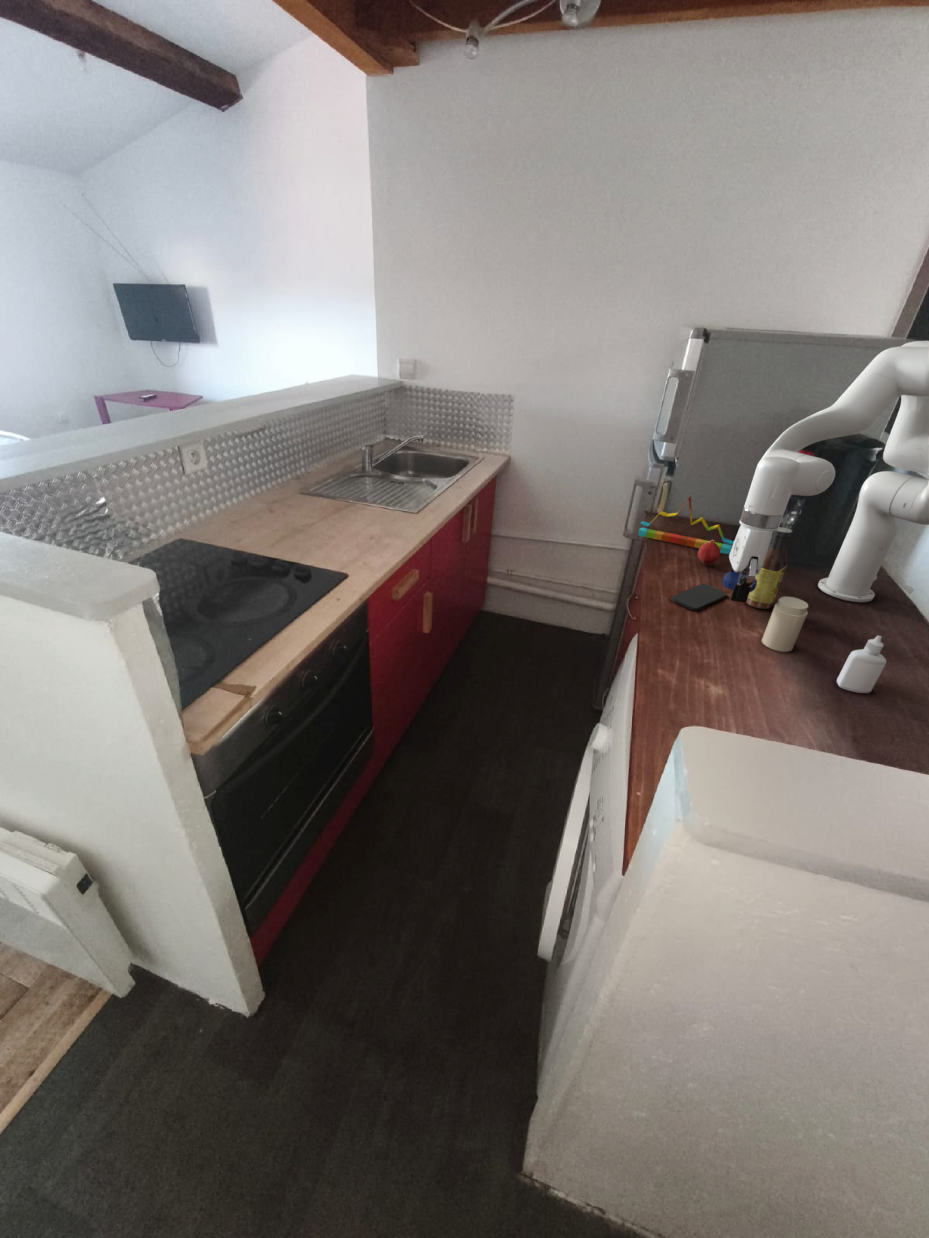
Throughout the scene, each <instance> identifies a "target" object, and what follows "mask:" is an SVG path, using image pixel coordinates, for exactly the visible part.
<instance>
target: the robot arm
mask: <svg viewBox="0 0 929 1238" xmlns="http://www.w3.org/2000/svg"><path fill="white" fill-rule="evenodd" d="M899 397H900V399H901V400H900V406H899V409H898V412H897V415H896V417H895V421H894V423H893V425H892V428H891V430H890V434H889V435H888V439H887V441H886V443H885V446H884V450H883V454H882V460H883V461H884V463H885V464H886V465H889V466H891V467H895V468H896V469H897V468H898V469H902V470H905V471H910V472H915V473H918V474H923V475H927V476H928V477H929V340H916V341H910V342H906V343H904V344H902V345H901V346H893V347H889V348H886V349H884V350H882V351H881V352H880V353H878V354H877V355H876V356H875V357H874V358H873V359H872V360H871V361H870V362H869V363H868V365H866V367H864V369H863V370H862V371H861V373H860V374H858V376H857V377H856V378H855V379H854V380H853V382H852V383H851V384H850V385H849V386H848V387H847V389H846V390H845V391H844V392H843V393H842V394H841V395H840V396H839V397H838V399H837V400H836V401H835V402H834V403H833V404H832V405H831V406H829V407H827V408H824V409H822V410H820V411H817V412H815V413H813V414H811V415H809V416H806V418H805V417H804V418H803V419H801V420H799V421H797V422H796V423H794V424H792V425H791V426H789V427H788V428H787V429H785V430H784V431H782V433H781V434H780V435H779V436H778V437H777V438H776V439H775V441H774V442H773V443H772V444H771V445H770V446H769V448H768V449H767V450H766V451H765V453H764V454H763V456H761V458H760V460H759V461H758V462H757V465H756V468H755V470H754V474H753V476H752V479H751V480H752V481H751V484H750V487H749V490H748V493H747V495H746V500H745V503H744V505H743V508H742V512H741V515H740V518H739V521H738V523H739V524H740V525H739V528H738V531H737V533H736V535H735V538H734V540H733V541H734V543H733V545H732V549H731V552H730V554H728V558H729V562H730V565H731V567H730V568H731V569H729V572H739V577H738V582H737V584H736V583H735V586H734V589H733V590H732V592H731V595H730V601H732V602H737V603H746V601H747V599H748V596H749V593H750V590H751V587H752V585H753V581H754V580H755V578H756V575H757V574H759V572H760V570H761V568H762V566H763V563H764V560H765V557H766V554H767V551H768V547H769V544H770V541H771V537H772V533H773V531H776V530H778V529H779V527H781V523H782V520H783V518H784V514H785V512H786V509H787V506H788V503H789V500H790V498H791V496H803V497H812V496H817V495H819V494H821V493H823V492H825V491H827V489H829V488H830V486H831V485H832V484H833V482H834V480H835V477H836V469H835V467H834V465H833V463H832V462H830V461H828V460H827V459H825V458H821V457H818V456H813V455H809V454H806V453H801V452H800V451H801V450H803V449H804V448H805V449H806V448H807V447H808V446H810V445H813V444H815V443H818V442H821V441H826V440H831V439H837V438H844V437H848V436H854V435H858V434H861V433H865V432H866V431H868V430H870V429H871V428H872V427H873V426H874V425H875V424H876V423H877V421H879V419H880V418H881V417H882V416H883V415H884V413H886V412H887V411H888V409H889V408H890V407H891V406H892V405H893V404H894V403H895V402H896V401H897V400H898V398H899ZM896 518H897V519H900V520H904V521H907V522H910V523H915V524H918V525H923V526H924V525H925V526H929V479H928V478H923V477H918V476H915V475H911V474H907V473H902V472H897V471H890V470H885V471H878V472H875V473H873V474H871V475H869V476H868V477H867V479H865V481H864V482H863V484H862V485H861V488H860V491H859V495H858V500H857V506H856V509H855V513H854V515H853V518H852V520H851V524H850V526H849V528H848V530H847V532H846V535H845V537H844V540H843V542H842V543H841V547H840V550H839V551H838V554H837V556H836V558H835V560H834V563H833V565H832V568H831V570H830V572H829V574H828V577H825V578H821V579H820V580H819V581H818V583H817V587H818V588H819V589H820V591H822V592H823V593H824V594H827V595H828V596H830V597H833V598H836V599H839V600H842V601H847V602H851V603H868V602H871V601H873V600H874V598H875V596H876V593H875V592H874V591H873V590H872V589H871V587H872V585H873V583H874V582H876V581H877V579H878V574H879V571H880V570H881V567H882V565H883V562H884V561H885V558H886V557H887V555H888V552H889V550H890V548H891V547H892V545H893V542H894V541H895V538H896V535H897V528H898V527H897V521H896ZM746 570H747V571H746ZM743 574H744V575H747V577H744V578H743ZM742 578H743V579H742Z"/></svg>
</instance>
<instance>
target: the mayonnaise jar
mask: <svg viewBox="0 0 929 1238" xmlns="http://www.w3.org/2000/svg"><path fill="white" fill-rule="evenodd" d="M808 609H809V604H808V602H806V601H805V600H802V599H801V598H798V597H793V596H782V597H779V599H778V601H777V602H776V603H775V604H774V606H773V609H772V612H771V615H770V617H769V619H768V622H767V625H766V627H765V631H764V633H763V635H762V637H761V643H762V644H763V645H764V646H765V647H767V648H769V649H771V650H773V651H777V652H782V653H787V652H791V651H793V649H794V647H795V645H796V643H797V640H798V637H799V636H800V633H801V631H802V629H803V626H804V623H805V621H806V619H807V616H808V614H809V613H808Z"/></svg>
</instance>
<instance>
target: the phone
mask: <svg viewBox="0 0 929 1238" xmlns="http://www.w3.org/2000/svg"><path fill="white" fill-rule="evenodd" d="M727 596H728V593H727V592H726V591H723V590H721V589H718V588H716V587H714V586H711V585H709V584H706V583H701V584H698V585H695V586H694V587H691V588H688V589H687V590H684V591H681V592H679V593H677V594H674V595H673V596H671V601H672V602H674V603H676V604H679V605H681V606H683V607H685V608H687V609H689V610H691V611H699V610H701V609H703V608H706V607H707V606H710V605H712V604H714V603H717V602H718V601H721V600H723V599H724V598H726V597H727Z"/></svg>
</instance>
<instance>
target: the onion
mask: <svg viewBox="0 0 929 1238" xmlns="http://www.w3.org/2000/svg"><path fill="white" fill-rule="evenodd" d="M709 541H710V542H707V543H705V544H703V545H702V546H701V547H700V548H698V550H697V557H698V559H699V561H700V562H701V563H702V564H703V566H709V565H711V564H714V563H715V562H716V561H718V560H719V558H720V556H721V553H720V549H719V547H718V545H717V544H716V543H715V542H716V541H715V540H714V539H711V540H709Z"/></svg>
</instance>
